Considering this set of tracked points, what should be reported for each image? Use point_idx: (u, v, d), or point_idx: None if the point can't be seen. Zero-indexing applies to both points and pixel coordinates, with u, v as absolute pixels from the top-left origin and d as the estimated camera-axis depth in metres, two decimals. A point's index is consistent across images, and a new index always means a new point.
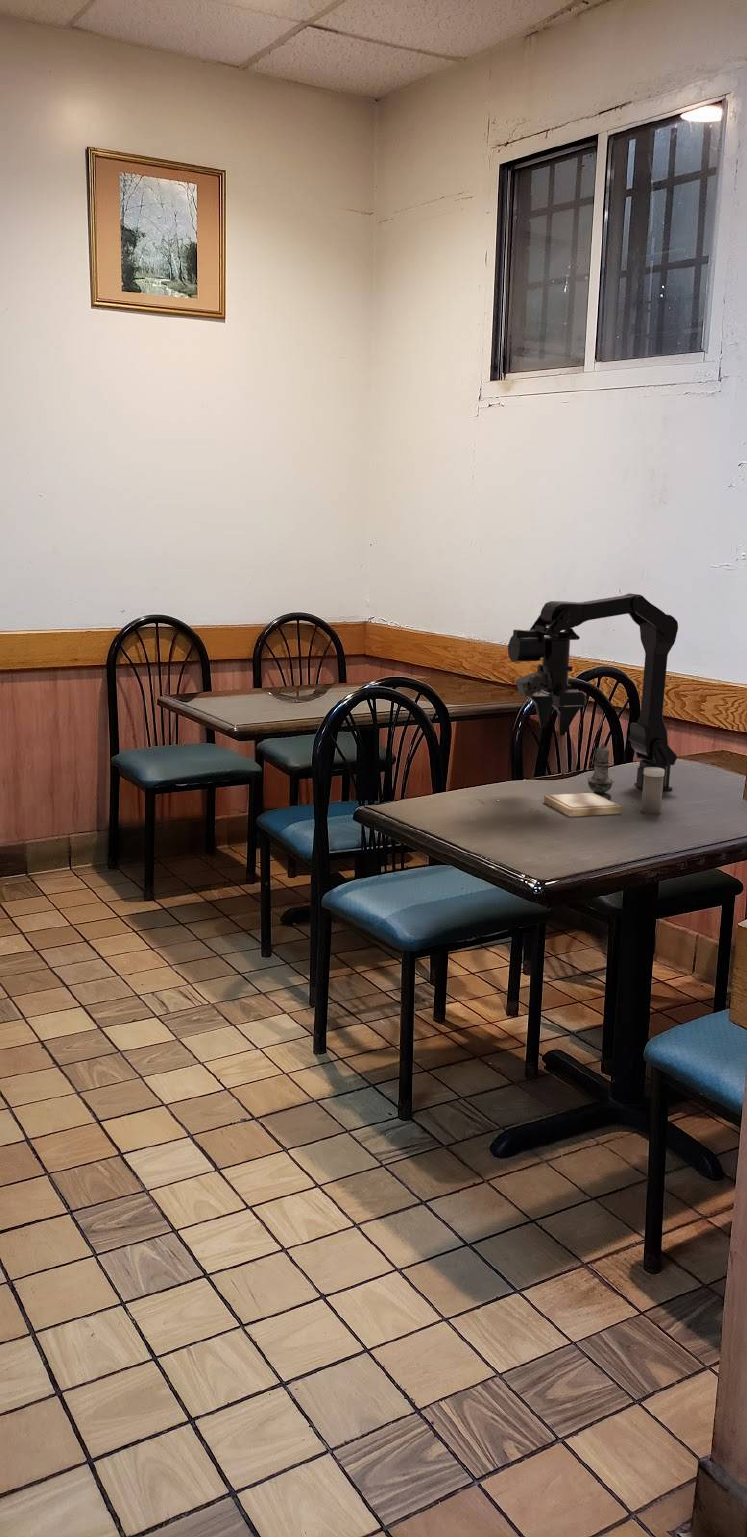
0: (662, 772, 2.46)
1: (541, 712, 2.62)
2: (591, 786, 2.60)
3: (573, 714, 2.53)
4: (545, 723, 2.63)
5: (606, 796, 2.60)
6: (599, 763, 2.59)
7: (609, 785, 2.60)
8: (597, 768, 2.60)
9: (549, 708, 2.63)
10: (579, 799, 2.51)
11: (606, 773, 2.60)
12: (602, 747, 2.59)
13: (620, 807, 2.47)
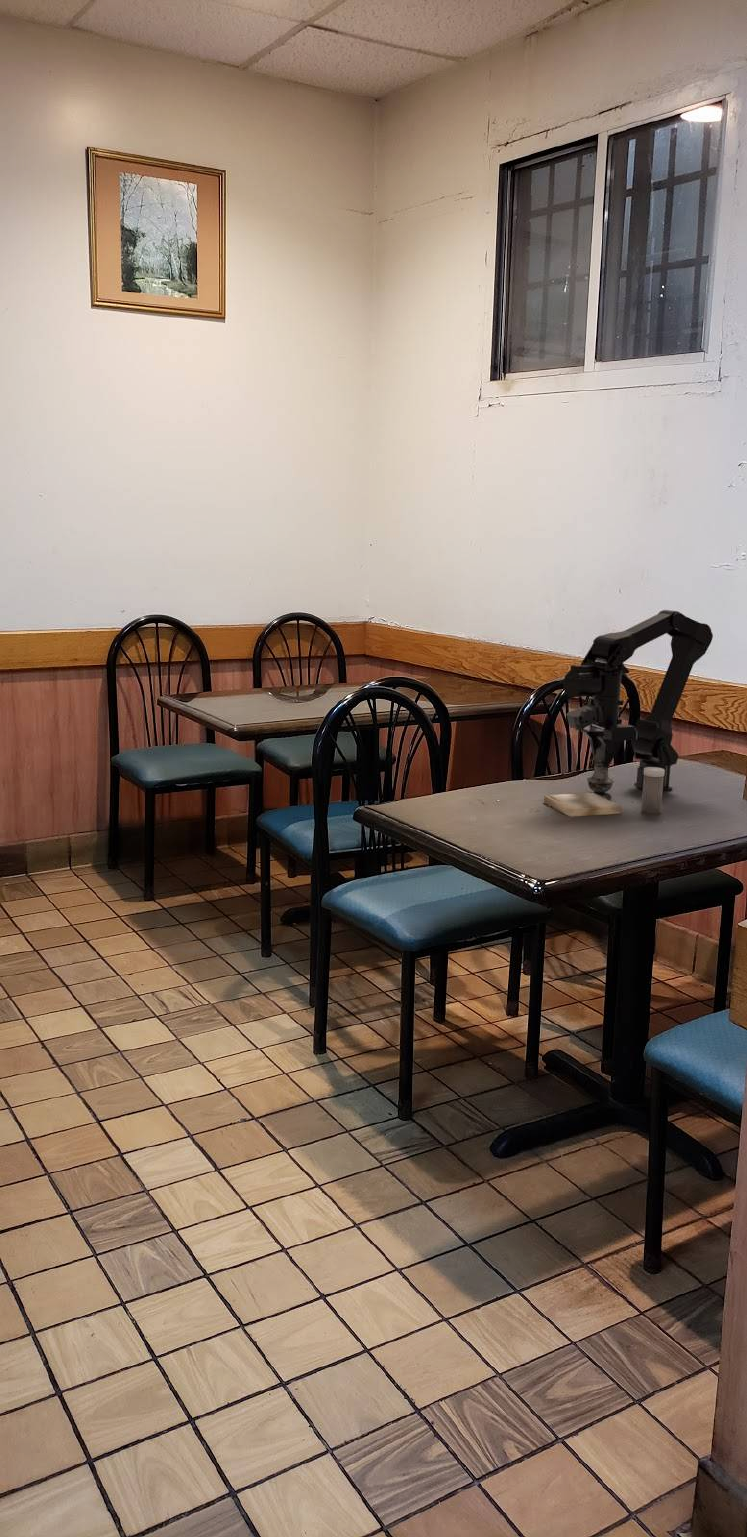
0: (662, 772, 2.46)
1: (596, 747, 2.62)
2: (591, 786, 2.60)
3: (618, 746, 2.57)
4: None
5: (606, 796, 2.60)
6: (599, 763, 2.59)
7: (609, 785, 2.60)
8: (598, 767, 2.60)
9: None
10: (579, 799, 2.51)
11: (606, 773, 2.60)
12: None
13: (620, 807, 2.47)
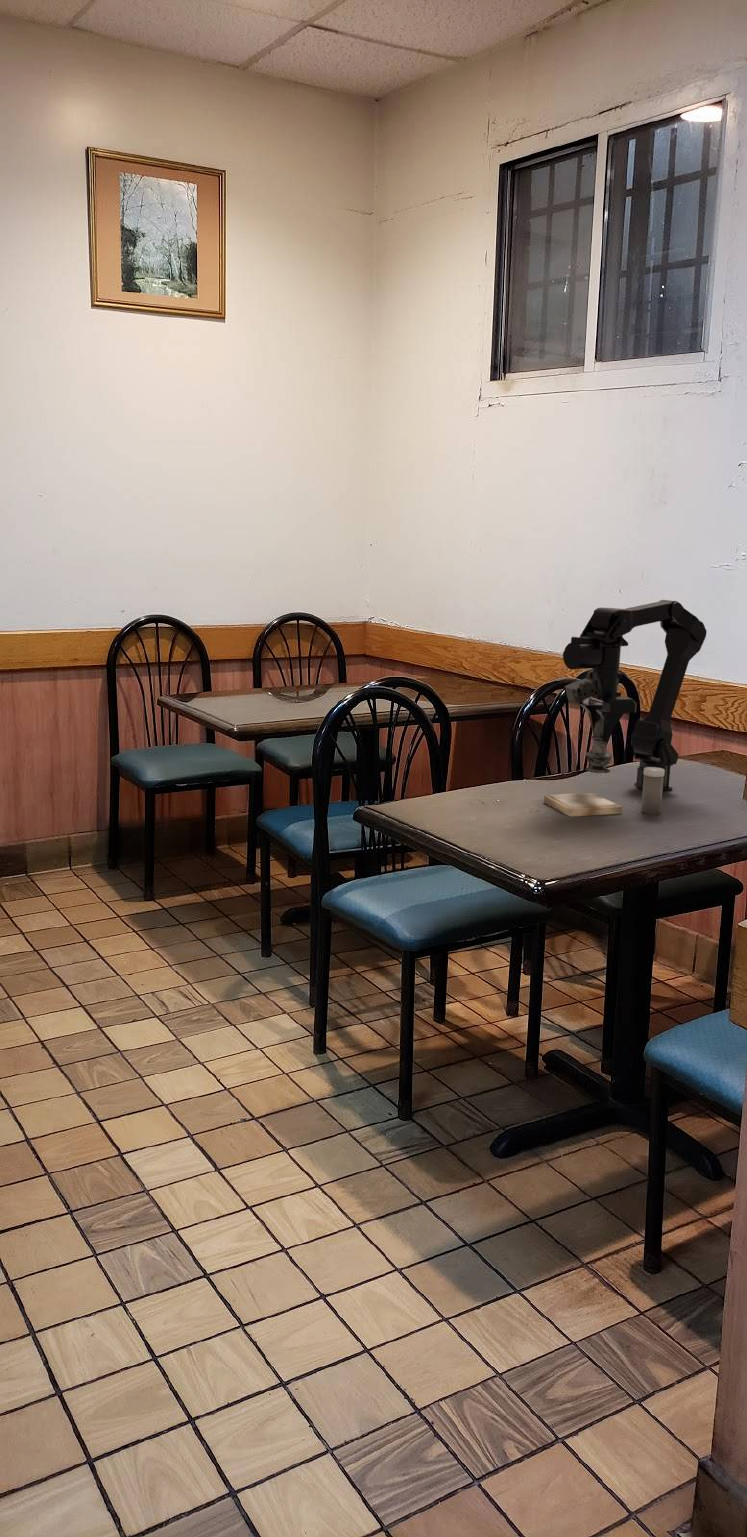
0: (662, 772, 2.46)
1: (595, 721, 2.59)
2: (589, 760, 2.57)
3: (617, 719, 2.54)
4: None
5: (604, 770, 2.57)
6: (598, 737, 2.56)
7: (608, 759, 2.57)
8: (596, 742, 2.57)
9: None
10: (579, 799, 2.51)
11: (605, 747, 2.57)
12: None
13: (620, 807, 2.47)
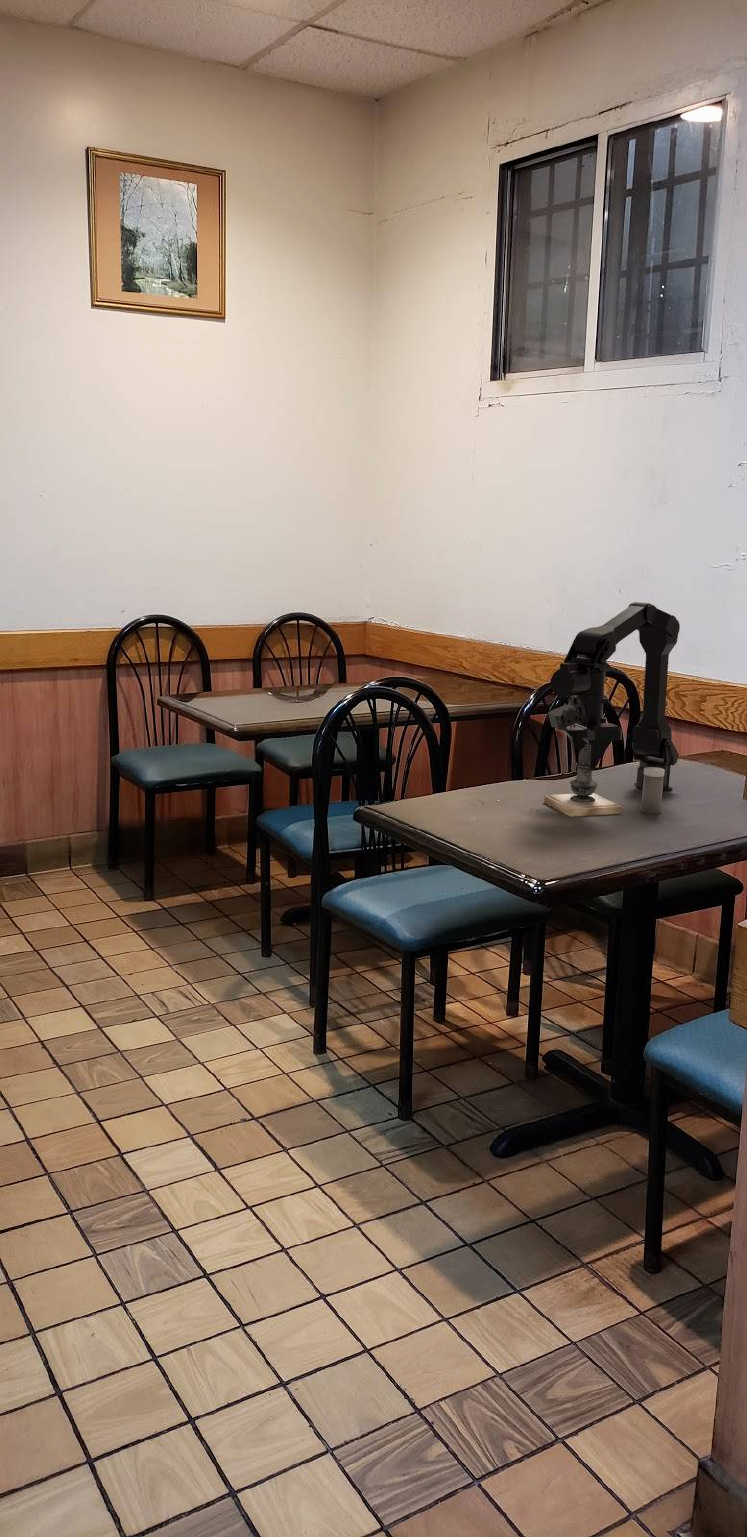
0: (662, 772, 2.46)
1: (576, 747, 2.51)
2: (574, 789, 2.49)
3: (604, 747, 2.44)
4: None
5: (590, 800, 2.49)
6: (582, 765, 2.48)
7: (593, 788, 2.48)
8: (581, 770, 2.48)
9: (584, 742, 2.52)
10: None
11: (590, 776, 2.48)
12: (585, 749, 2.48)
13: (620, 807, 2.47)
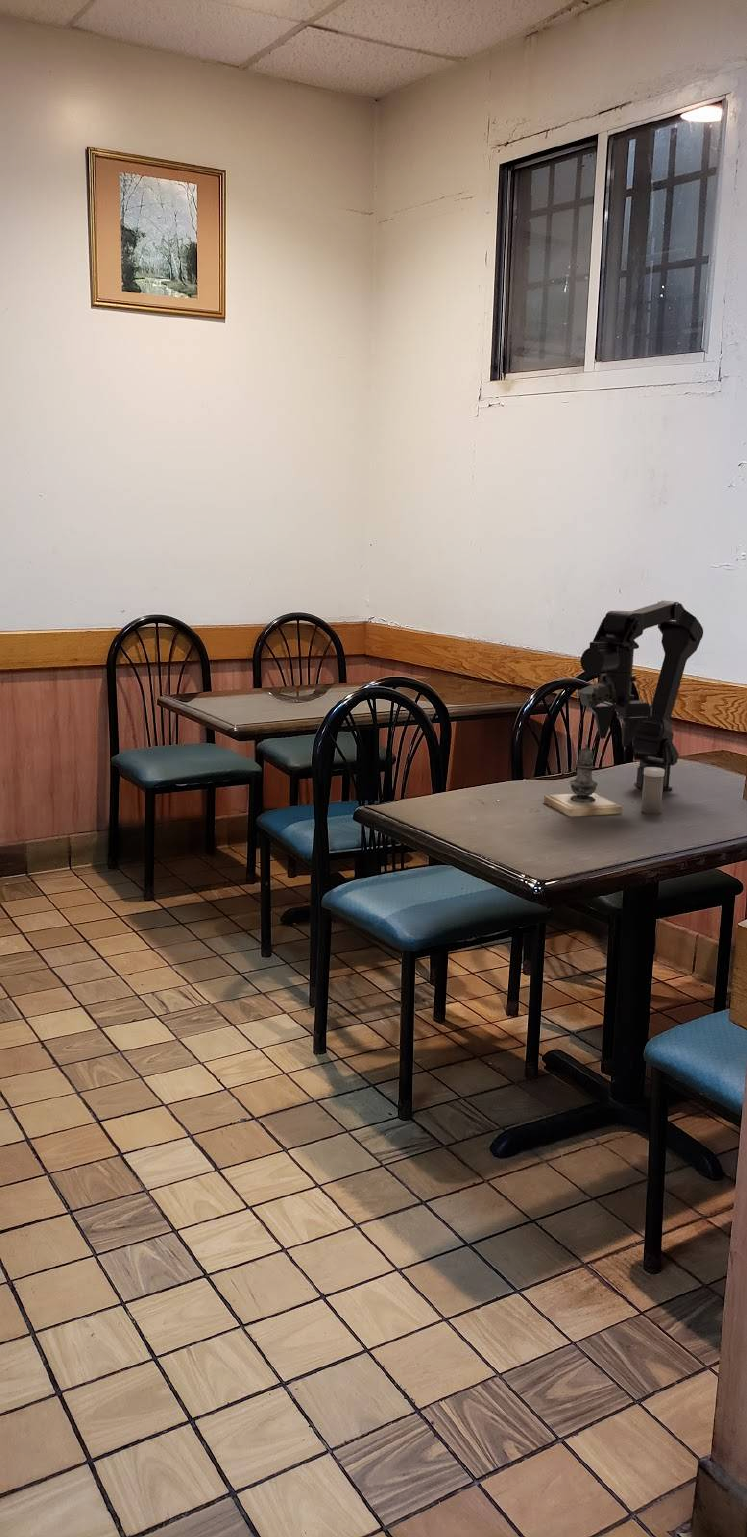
0: (662, 772, 2.46)
1: (601, 723, 2.59)
2: (574, 789, 2.49)
3: (638, 725, 2.50)
4: (605, 734, 2.60)
5: (590, 800, 2.49)
6: (582, 765, 2.48)
7: (593, 788, 2.48)
8: (581, 770, 2.48)
9: (608, 718, 2.60)
10: None
11: (590, 776, 2.48)
12: (585, 749, 2.48)
13: (620, 807, 2.47)
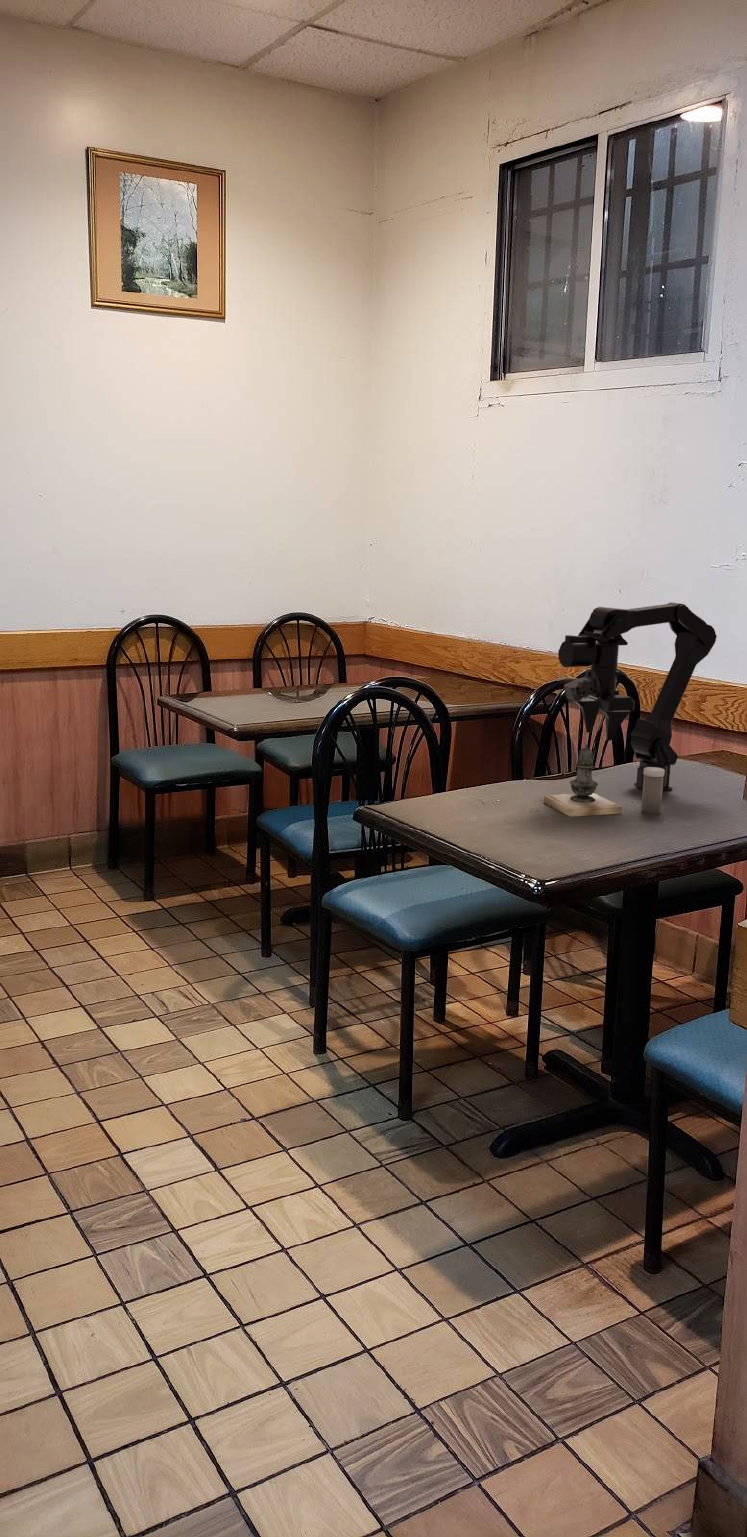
0: (662, 772, 2.46)
1: (587, 717, 2.65)
2: (574, 789, 2.49)
3: (621, 719, 2.55)
4: (591, 728, 2.65)
5: (590, 800, 2.49)
6: (582, 765, 2.48)
7: (593, 788, 2.48)
8: (581, 770, 2.48)
9: (595, 713, 2.65)
10: None
11: (590, 776, 2.48)
12: (585, 749, 2.48)
13: (620, 807, 2.47)
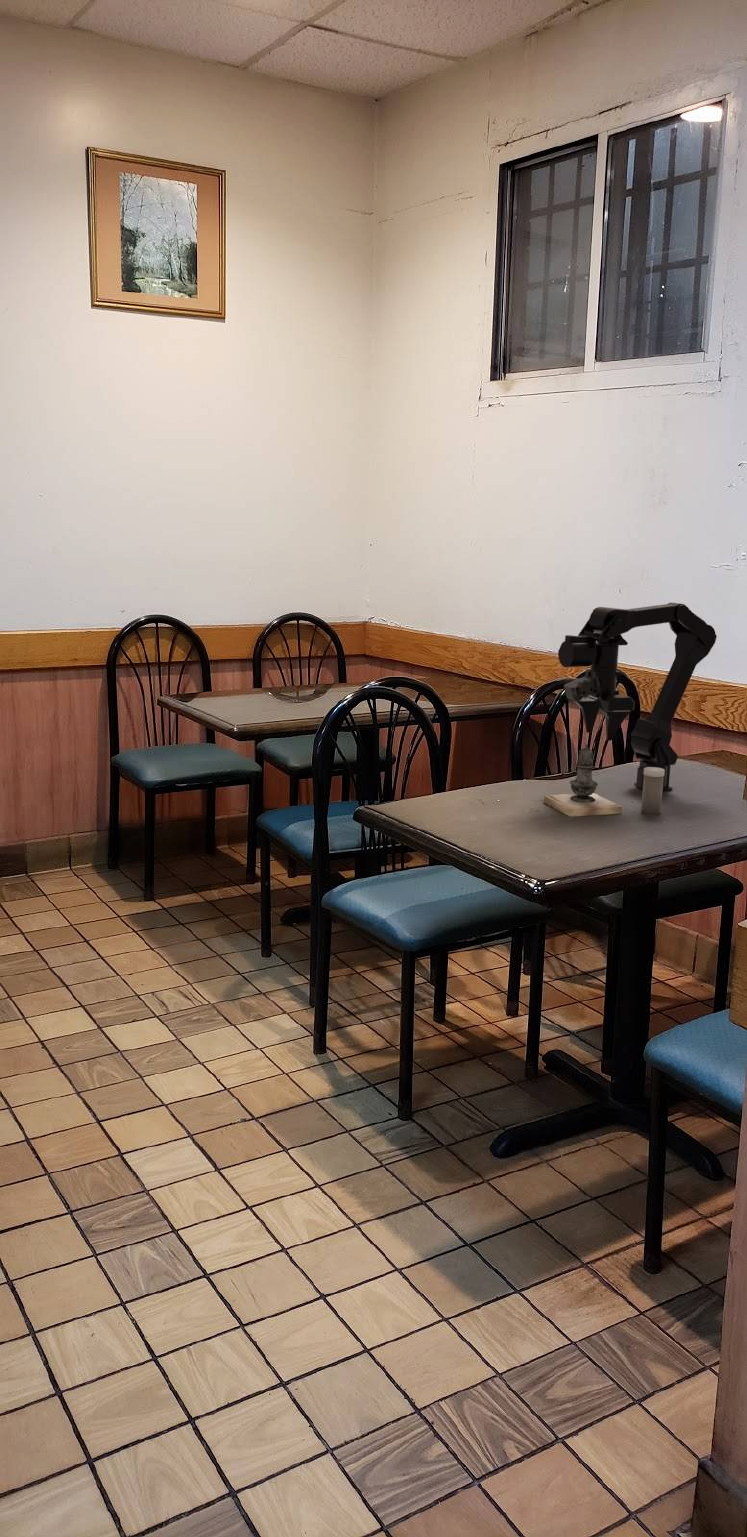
0: (662, 772, 2.46)
1: (587, 717, 2.65)
2: (574, 789, 2.49)
3: (621, 719, 2.55)
4: (591, 728, 2.65)
5: (590, 800, 2.49)
6: (582, 765, 2.48)
7: (593, 788, 2.48)
8: (581, 770, 2.48)
9: (595, 713, 2.65)
10: None
11: (590, 776, 2.48)
12: (585, 749, 2.48)
13: (620, 807, 2.47)
